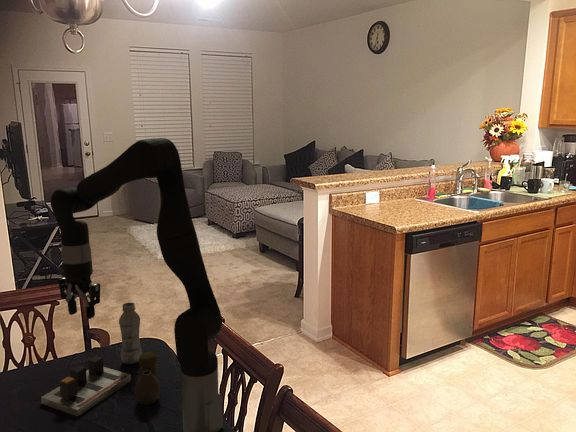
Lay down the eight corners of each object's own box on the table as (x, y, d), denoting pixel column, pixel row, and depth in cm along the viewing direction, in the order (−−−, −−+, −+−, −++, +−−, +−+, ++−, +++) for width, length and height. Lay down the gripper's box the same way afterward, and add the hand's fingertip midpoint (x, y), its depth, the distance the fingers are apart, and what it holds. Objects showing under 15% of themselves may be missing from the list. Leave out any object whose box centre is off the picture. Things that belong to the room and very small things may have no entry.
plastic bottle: (120, 359, 159) (116, 302, 155) (141, 355, 162) (137, 299, 158) (122, 368, 153) (118, 309, 149) (144, 364, 156) (140, 306, 152)
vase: (135, 409, 132) (133, 380, 130) (136, 395, 138) (134, 368, 136) (161, 405, 133) (159, 377, 132) (160, 392, 140) (159, 364, 138)
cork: (154, 395, 138) (152, 360, 136) (134, 393, 140) (132, 358, 137) (163, 384, 144) (161, 350, 142) (145, 382, 145) (143, 348, 143)
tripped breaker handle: (77, 394, 135) (75, 378, 134) (68, 399, 132) (67, 383, 131) (69, 391, 136) (68, 375, 135) (60, 397, 133) (59, 380, 132)
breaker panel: (131, 380, 146) (129, 361, 145) (77, 416, 128) (75, 394, 127) (97, 370, 152) (95, 351, 151) (41, 403, 134) (39, 382, 133)
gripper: (106, 258, 132) (110, 315, 136) (69, 252, 138) (74, 307, 142) (85, 266, 126) (89, 325, 129) (47, 259, 132) (52, 316, 135)
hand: (81, 315), depth 135 cm, fingers open, 6 cm apart
